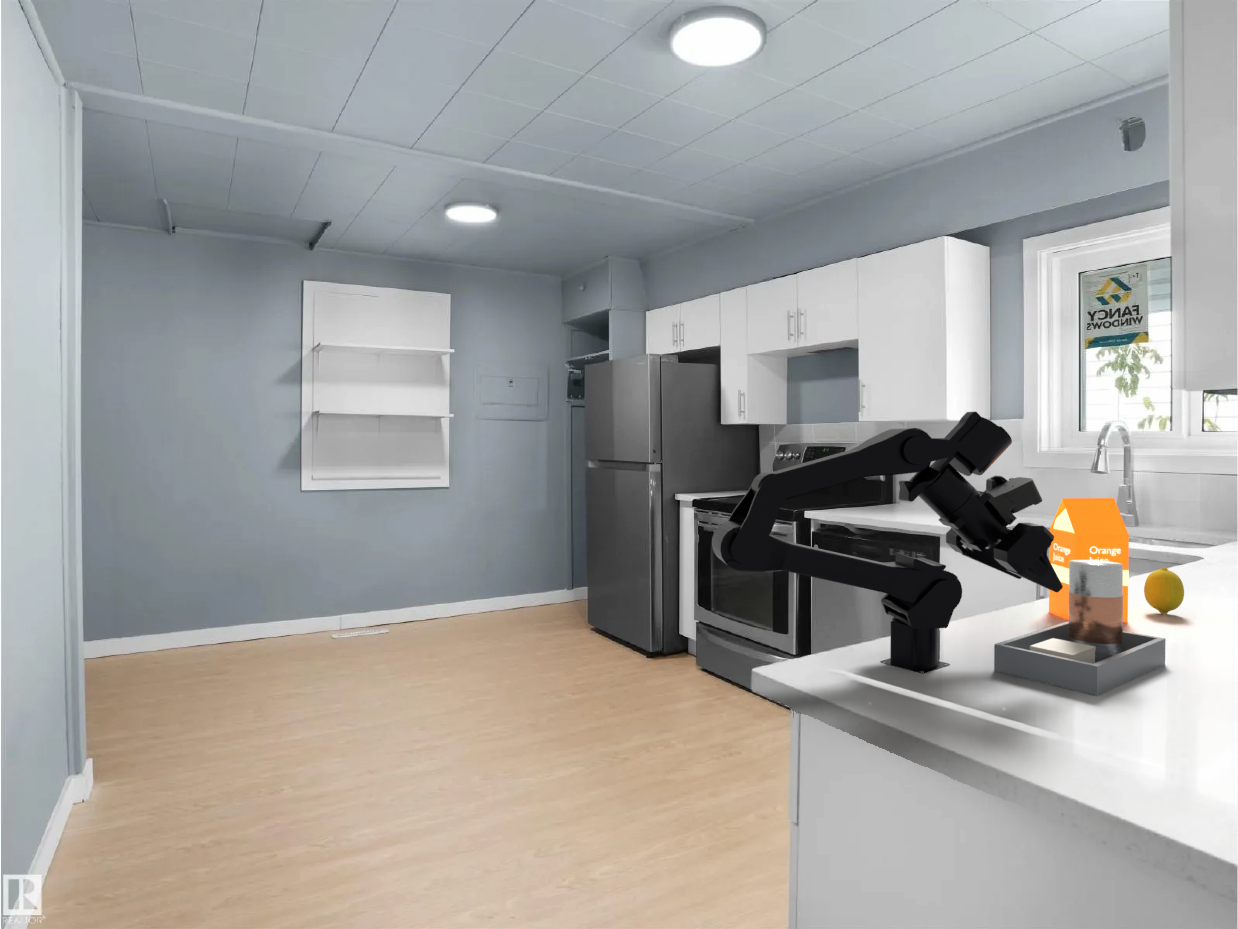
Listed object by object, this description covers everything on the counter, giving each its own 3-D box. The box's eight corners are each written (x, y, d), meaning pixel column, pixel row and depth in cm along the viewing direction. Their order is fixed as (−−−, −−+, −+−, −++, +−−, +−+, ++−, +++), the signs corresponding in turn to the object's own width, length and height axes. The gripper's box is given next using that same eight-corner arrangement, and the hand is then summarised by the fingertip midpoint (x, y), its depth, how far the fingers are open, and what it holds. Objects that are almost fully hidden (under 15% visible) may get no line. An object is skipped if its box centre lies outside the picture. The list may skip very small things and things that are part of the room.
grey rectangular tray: (1096, 701, 88) (1097, 666, 88) (994, 675, 98) (994, 644, 97) (1165, 669, 100) (1165, 638, 99) (1067, 648, 109) (1067, 621, 109)
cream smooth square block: (1072, 684, 92) (1073, 655, 92) (1029, 674, 96) (1029, 645, 96) (1095, 675, 95) (1095, 646, 95) (1052, 665, 99) (1052, 638, 99)
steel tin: (1083, 667, 98) (1083, 566, 98) (1059, 654, 104) (1060, 559, 104) (1132, 668, 98) (1133, 566, 98) (1106, 655, 104) (1106, 559, 104)
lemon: (1190, 618, 126) (1191, 570, 126) (1152, 617, 128) (1153, 570, 127) (1173, 611, 132) (1174, 565, 132) (1137, 610, 133) (1138, 564, 133)
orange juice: (1128, 622, 124) (1130, 499, 124) (1073, 622, 125) (1075, 500, 124) (1099, 611, 132) (1100, 496, 132) (1047, 611, 132) (1048, 496, 132)
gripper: (1037, 458, 91) (1130, 549, 91) (967, 455, 110) (1044, 530, 110) (971, 526, 91) (1064, 616, 92) (912, 511, 110) (989, 585, 110)
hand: (1040, 582), depth 101 cm, fingers open, 9 cm apart
